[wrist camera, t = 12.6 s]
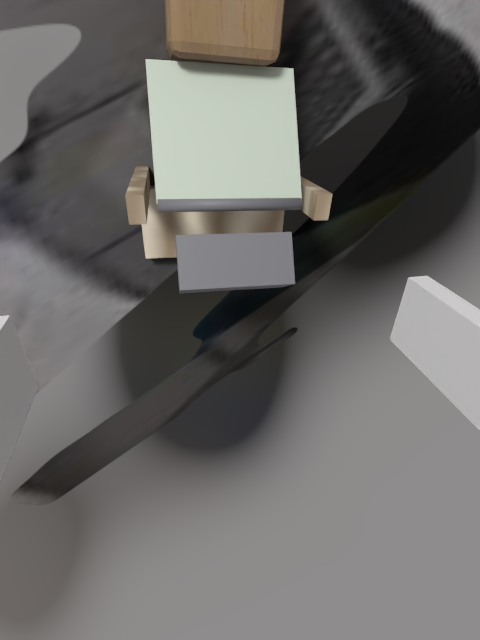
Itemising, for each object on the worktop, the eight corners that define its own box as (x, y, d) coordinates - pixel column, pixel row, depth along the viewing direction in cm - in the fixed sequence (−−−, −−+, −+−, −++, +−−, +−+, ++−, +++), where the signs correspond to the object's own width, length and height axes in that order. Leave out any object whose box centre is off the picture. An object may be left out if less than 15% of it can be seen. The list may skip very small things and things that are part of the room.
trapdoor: (164, 294, 35) (162, 291, 31) (148, 84, 34) (144, 54, 30) (295, 286, 37) (309, 282, 33) (282, 90, 37) (295, 63, 33)
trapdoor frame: (146, 253, 48) (141, 308, 35) (135, 166, 42) (125, 195, 29) (276, 248, 51) (314, 297, 39) (284, 167, 45) (332, 193, 33)
